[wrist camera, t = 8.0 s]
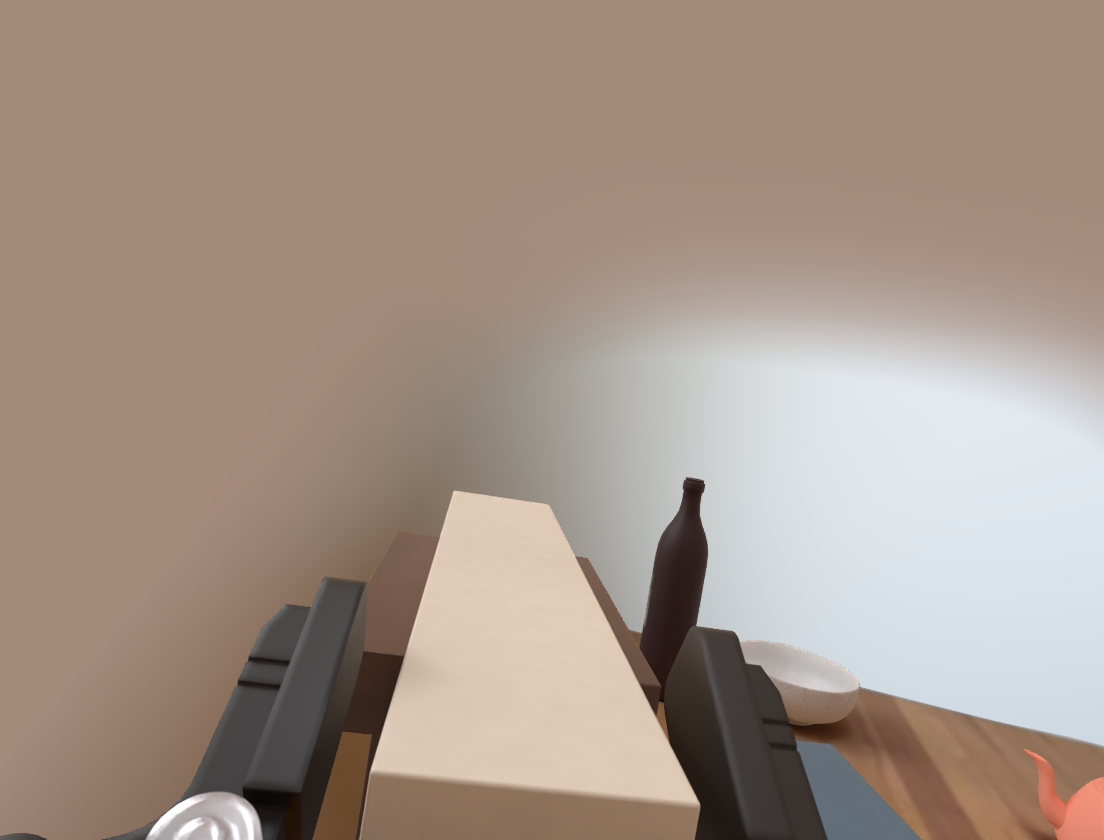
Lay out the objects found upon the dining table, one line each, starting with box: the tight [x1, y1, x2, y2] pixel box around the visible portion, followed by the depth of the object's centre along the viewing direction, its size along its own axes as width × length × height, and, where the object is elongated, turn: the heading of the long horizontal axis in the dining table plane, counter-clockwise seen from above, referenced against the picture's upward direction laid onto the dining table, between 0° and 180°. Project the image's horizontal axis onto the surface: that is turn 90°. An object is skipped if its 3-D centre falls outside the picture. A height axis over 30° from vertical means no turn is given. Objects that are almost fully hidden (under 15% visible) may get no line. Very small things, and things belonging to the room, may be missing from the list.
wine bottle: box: [639, 478, 708, 700], centre depth 93 cm, size 7×7×30 cm
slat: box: [359, 491, 700, 840], centre depth 18 cm, size 4×20×2 cm, turn 6°
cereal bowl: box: [740, 640, 860, 726], centre depth 94 cm, size 17×17×7 cm
